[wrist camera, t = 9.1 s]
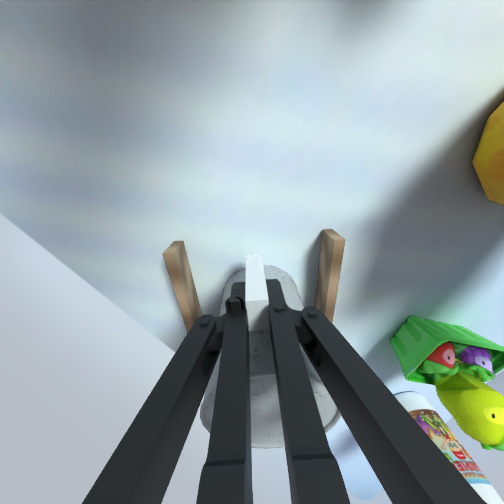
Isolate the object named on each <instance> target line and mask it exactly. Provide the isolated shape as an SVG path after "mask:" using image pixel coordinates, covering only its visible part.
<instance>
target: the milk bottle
mask: <svg viewBox="0 0 504 504" xmlns="http://www.w3.org/2000/svg"><path fill="white" fill-rule="evenodd" d="M394 396H395V397H396V399H397V400H398V401H399V402H400V403H401V404H402V406H403V407H404V408H405V409H406V410H407V411H408V413H409V414H410V415H411V416H412V417H413V418H414V420H415V421H416V422H417V423H418V424H419V425H420V427H421V428H422V429H423V430H424V431H425V432H426V434H427V435H428V436H429V437H430V438H431V439H432V441H433V442H434V443H435V444H436V445H437V446H438V448H439V449H440V450H441V451H442V452H443V453H444V455H445V456H446V457H447V458H448V459H449V460H450V462H451V463H452V464H453V465H454V466H455V467H456V469H457V470H458V471H459V472H460V473H461V474H462V476H463V477H464V478H465V479H466V480H467V481H468V483H469V484H470V485H471V486H472V487H473V488H474V490H475V491H476V492H477V493H478V494H479V495H480V497H481V498H482V499H483V500H484V501H485V502H486V503H487V504H504V503H503V501H502V500H501V498H500V497H499V495H498V494H497V492H496V491H495V489H494V488H493V487H492V486H491V484H490V483H489V481H488V480H487V479H486V477H485V476H484V474H483V473H482V472H481V470H480V469H479V468H478V466H477V465H476V464H475V462H474V461H473V460H472V458H471V457H470V456H469V454H468V453H467V452H466V450H465V449H464V448H463V446H462V445H461V444H460V442H459V441H458V440H457V438H456V437H455V436H454V435H453V433H452V432H451V431H450V429H449V428H448V427H447V425H446V424H445V423H444V421H443V420H442V419H441V417H440V416H439V415H438V413H437V412H436V411H435V409H434V408H433V407H432V406H431V404H430V403H429V402H428V400H427V399H426V398H425V397H424V396H423V395H422V394H420V393H417V392H403V393H399V394H396V395H394Z"/></svg>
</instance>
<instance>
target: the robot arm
mask: <svg viewBox="0 0 504 504" xmlns="http://www.w3.org/2000/svg"><path fill="white" fill-rule="evenodd" d="M225 307H226V313H225V314H223V315H222V316H219V317H216V318H214V317H213V316H212V315H203V316H201V317H199V318H198V319H197V320H196V321H195V322H194V324H193V326H192V327H191V329H190V330H189V332H188V334H187V335H186V337H185V338H184V340H183V342H182V343H181V345H180V347H179V348H178V350H177V351H176V353H175V355H174V356H173V358H172V359H171V361H170V363H169V364H168V366H167V367H166V369H165V371H164V372H163V374H162V376H161V377H160V379H159V380H158V382H157V384H156V385H155V387H154V388H153V390H152V392H151V393H150V395H149V396H148V398H147V400H146V401H145V403H144V404H143V406H142V408H141V409H140V411H139V413H138V414H137V416H136V417H135V419H134V421H133V422H132V424H131V426H130V427H129V429H128V430H127V432H126V434H125V435H124V437H123V438H122V440H121V441H120V443H119V445H118V446H117V448H116V450H115V451H114V453H113V454H112V456H111V458H110V459H109V461H108V463H107V464H106V466H105V467H104V469H103V470H102V472H101V474H100V475H99V477H98V479H97V480H96V482H95V484H94V485H93V487H92V488H91V490H90V492H89V493H88V495H87V496H86V498H85V499H84V501H83V503H82V504H161V503H162V500H163V497H164V495H165V492H166V490H167V487H168V485H169V482H170V480H171V477H172V474H173V472H174V469H175V467H176V464H177V462H178V459H179V456H180V454H181V451H182V449H183V446H184V444H185V441H186V439H187V436H188V434H189V431H190V429H191V426H192V423H193V421H194V418H195V416H196V413H197V411H198V408H199V406H200V403H201V400H202V398H203V395H204V393H205V390H206V388H207V385H208V383H209V380H210V377H211V375H212V372H213V370H214V367H215V365H216V362H217V360H218V357H219V355H220V352H221V357H220V365H219V372H218V380H217V387H216V395H215V402H214V410H213V417H212V425H211V432H210V440H209V448H208V455H207V459H206V462H205V464H204V466H203V469H202V472H201V477H200V483H199V489H198V496H197V502H196V504H253V492H252V463H251V462H252V461H251V402H250V345H249V331H261V330H270V338H271V345H272V352H273V360H274V367H275V375H276V383H277V390H278V398H279V405H280V413H281V420H282V428H283V436H284V443H285V451H286V458H287V465H288V473H289V481H290V491H291V502H292V504H350V501H349V498H348V494H347V491H346V488H345V484H344V481H343V478H342V475H341V472H340V469H339V466H338V463H337V461H336V459H335V457H334V456H333V454H332V453H331V450H330V448H329V445H328V441H327V438H326V434H325V431H324V427H323V424H322V420H321V417H320V413H319V410H318V406H317V403H316V399H315V396H314V392H313V389H312V386H311V382H310V379H309V375H308V372H307V368H306V365H305V361H304V358H303V354H302V351H301V347H300V344H301V346H302V348H303V350H304V351H305V353H306V355H307V357H308V358H309V360H310V362H311V363H312V365H313V367H314V369H315V370H316V372H317V374H318V376H319V377H320V379H321V381H322V382H323V384H324V386H325V388H326V389H327V391H328V393H329V395H330V396H331V398H332V400H333V401H334V403H335V405H336V407H337V408H338V410H339V412H340V414H341V415H342V417H343V419H344V420H345V422H346V424H347V426H348V427H349V429H350V431H351V433H352V434H353V436H354V438H355V440H356V441H357V443H358V445H359V446H360V448H361V450H362V452H363V453H364V455H365V457H366V459H367V460H368V462H369V464H370V465H371V467H372V469H373V471H374V472H375V474H376V476H377V478H378V479H379V481H380V483H381V484H382V486H383V488H384V490H385V491H386V493H387V495H388V497H389V498H390V500H391V502H392V503H393V504H487V503H486V502H485V501H484V500H483V499H482V498H481V497H480V495H479V494H478V493H477V492H476V491H475V490H474V488H473V487H472V486H471V485H470V484H469V483H468V481H467V480H466V479H465V478H464V477H463V476H462V474H461V473H460V472H459V471H458V470H457V469H456V467H455V466H454V465H453V464H452V463H451V462H450V460H449V459H448V458H447V457H446V456H445V455H444V453H443V452H442V451H441V450H440V449H439V448H438V446H437V445H436V444H435V443H434V442H433V441H432V439H431V438H430V437H429V436H428V435H427V434H426V432H425V431H424V430H423V429H422V428H421V427H420V425H419V424H418V423H417V422H416V421H415V420H414V418H413V417H412V416H411V415H410V414H409V413H408V411H407V410H406V409H405V408H404V407H403V406H402V404H401V403H400V402H399V401H398V400H397V399H396V397H395V396H394V395H393V394H392V393H391V392H390V390H389V389H388V388H387V387H386V386H385V385H384V383H383V382H382V381H381V380H380V379H379V378H378V376H377V375H376V374H375V373H374V372H373V371H372V369H371V368H370V367H369V366H368V365H367V364H366V362H365V361H364V360H363V359H362V358H361V357H360V355H359V354H358V353H357V352H356V351H355V350H354V348H353V347H352V346H351V345H350V344H349V343H348V341H347V340H346V339H345V338H344V337H343V336H342V334H341V333H340V332H339V331H338V330H337V329H336V327H335V326H334V325H333V324H332V323H331V322H330V320H329V319H328V318H327V317H326V316H325V315H324V313H323V312H322V311H321V310H319V309H318V308H316V307H311V306H309V307H305V308H303V310H302V311H298V310H294V309H292V308H290V307H288V305H287V304H286V301H285V298H284V294H283V291H282V287H281V283H280V281H279V280H278V279H266V280H265V274H264V267H263V261H262V255H261V254H252V255H246V281H245V282H234V284H233V285H232V287H231V295H230V297H229V298H227V299H226V301H225ZM299 343H300V344H299Z"/></svg>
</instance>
